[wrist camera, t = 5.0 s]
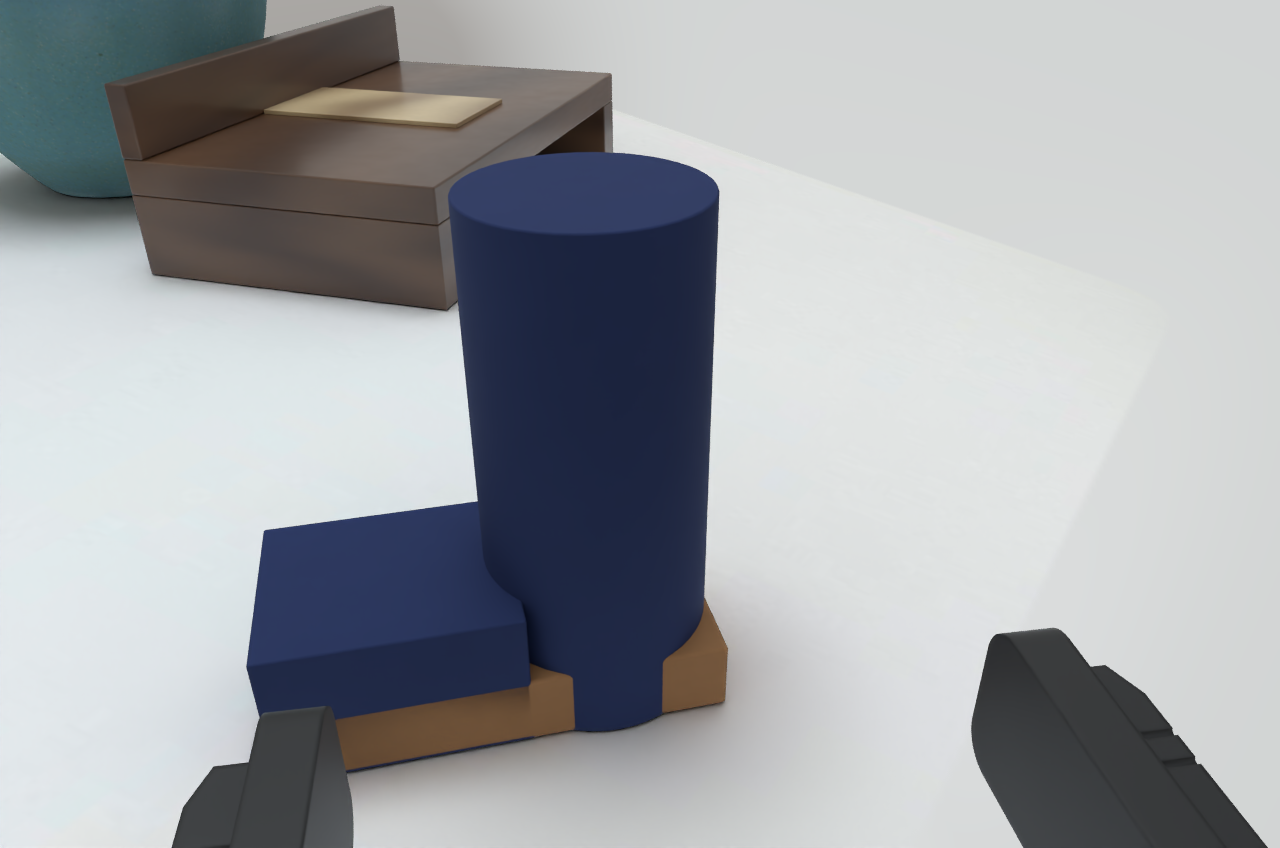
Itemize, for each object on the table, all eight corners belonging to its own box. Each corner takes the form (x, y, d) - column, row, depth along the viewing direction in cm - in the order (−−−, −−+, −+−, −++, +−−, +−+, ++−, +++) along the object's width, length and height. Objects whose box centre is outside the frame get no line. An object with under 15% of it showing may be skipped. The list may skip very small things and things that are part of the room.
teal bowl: (182, 243, 47) (114, -46, 41) (-146, 217, 51) (-255, -54, 44) (355, 143, 63) (323, -78, 57) (94, 128, 66) (38, -82, 60)
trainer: (671, 574, 26) (678, 144, 21) (729, 709, 22) (757, 219, 17) (289, 634, 24) (184, 177, 19) (276, 794, 20) (137, 272, 15)
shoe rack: (613, 162, 59) (611, 15, 55) (447, 310, 41) (425, 105, 37) (395, 145, 62) (378, 5, 58) (151, 274, 44) (102, 83, 40)
